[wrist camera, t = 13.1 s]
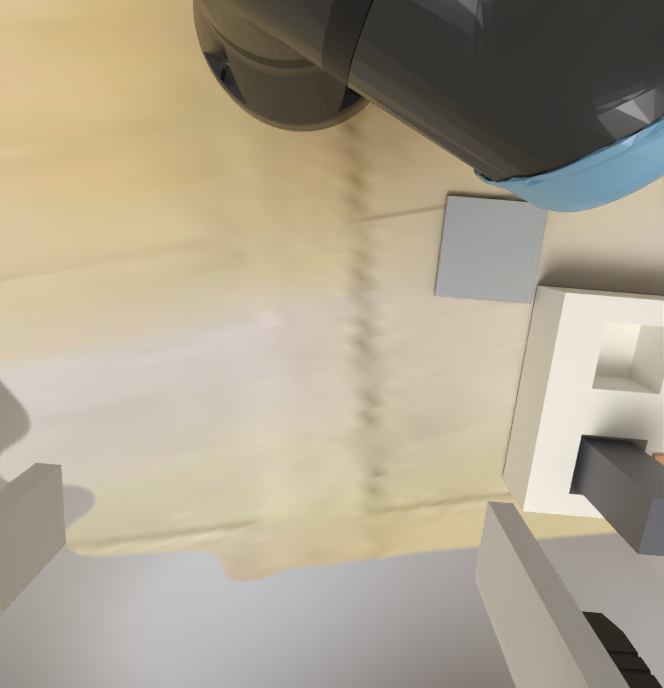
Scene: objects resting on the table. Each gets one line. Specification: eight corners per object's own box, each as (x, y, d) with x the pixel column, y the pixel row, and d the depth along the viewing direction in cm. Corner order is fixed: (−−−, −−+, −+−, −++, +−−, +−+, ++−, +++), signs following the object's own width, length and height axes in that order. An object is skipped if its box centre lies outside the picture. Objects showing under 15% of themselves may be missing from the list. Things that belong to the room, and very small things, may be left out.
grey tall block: (563, 422, 40) (653, 497, 29) (609, 426, 40) (717, 503, 29) (554, 464, 41) (637, 553, 30) (599, 468, 41) (700, 559, 30)
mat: (446, 196, 37) (448, 195, 37) (545, 204, 37) (549, 203, 37) (433, 294, 39) (435, 295, 39) (528, 302, 39) (531, 303, 39)
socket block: (537, 285, 39) (568, 293, 34) (681, 297, 39) (734, 307, 33) (502, 479, 43) (524, 514, 38) (632, 490, 43) (672, 526, 38)
